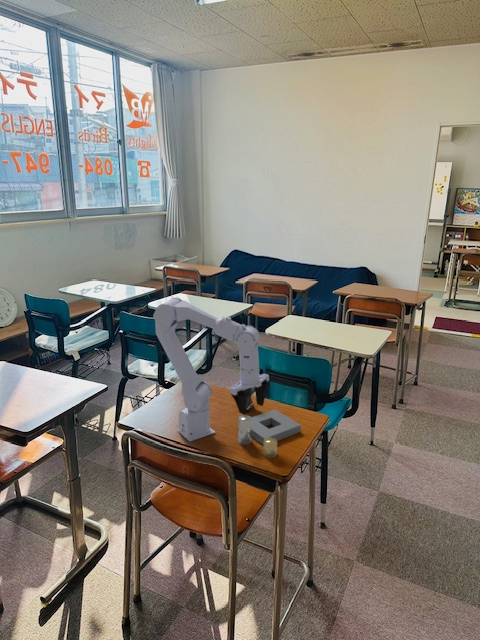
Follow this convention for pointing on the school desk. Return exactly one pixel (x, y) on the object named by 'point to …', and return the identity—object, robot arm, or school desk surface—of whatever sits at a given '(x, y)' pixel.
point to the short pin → (270, 447)
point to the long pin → (244, 430)
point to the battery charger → (249, 398)
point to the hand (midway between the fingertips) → (251, 409)
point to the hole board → (280, 431)
